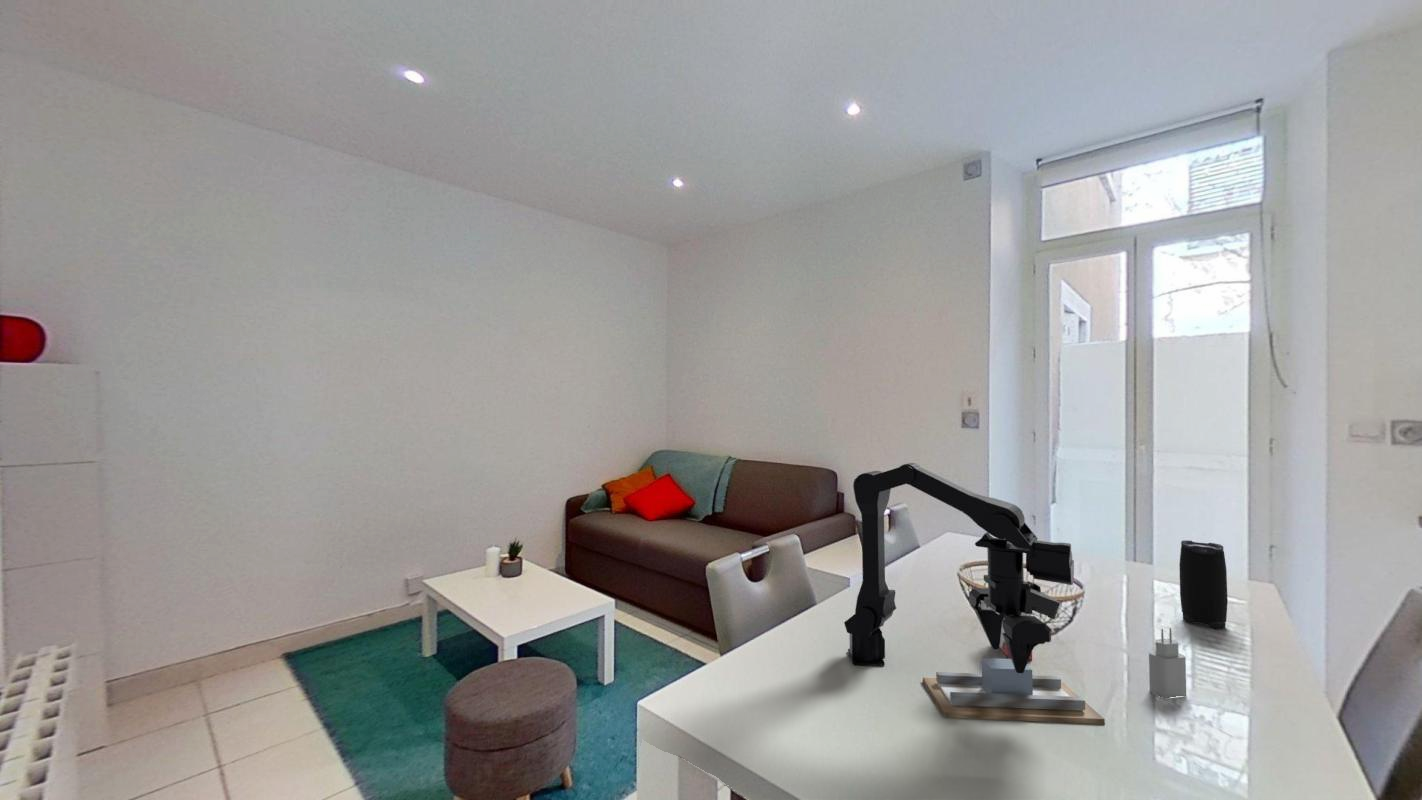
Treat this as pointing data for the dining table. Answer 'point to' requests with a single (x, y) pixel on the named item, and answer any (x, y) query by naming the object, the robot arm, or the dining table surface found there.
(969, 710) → the rail mount
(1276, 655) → the dining table surface
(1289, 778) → the dining table surface
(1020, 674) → the block
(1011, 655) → the robot arm
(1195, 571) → the portable speaker
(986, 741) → the dining table surface
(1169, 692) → the power adapter
